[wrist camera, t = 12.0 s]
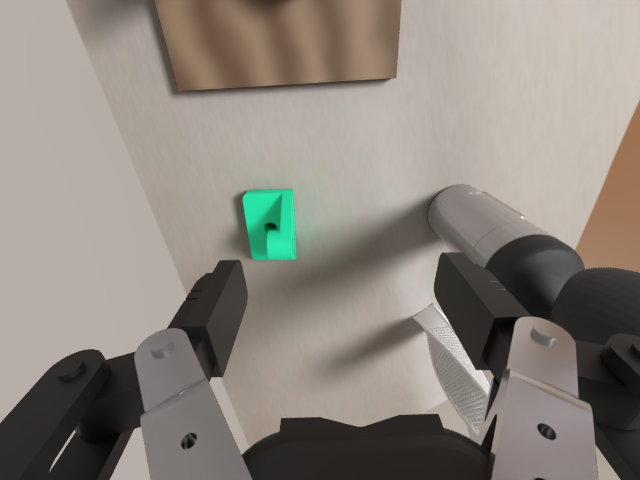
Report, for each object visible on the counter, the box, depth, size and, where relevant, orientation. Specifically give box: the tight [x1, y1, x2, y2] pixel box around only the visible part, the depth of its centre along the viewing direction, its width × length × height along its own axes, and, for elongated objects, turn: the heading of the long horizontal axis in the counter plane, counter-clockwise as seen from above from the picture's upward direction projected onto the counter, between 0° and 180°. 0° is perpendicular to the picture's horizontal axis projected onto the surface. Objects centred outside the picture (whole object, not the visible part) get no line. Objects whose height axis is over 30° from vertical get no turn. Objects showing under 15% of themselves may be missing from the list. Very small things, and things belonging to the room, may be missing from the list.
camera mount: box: [243, 189, 297, 260], centre depth 43 cm, size 12×8×10 cm, turn 1°
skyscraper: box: [412, 304, 490, 442], centre depth 46 cm, size 8×7×28 cm
